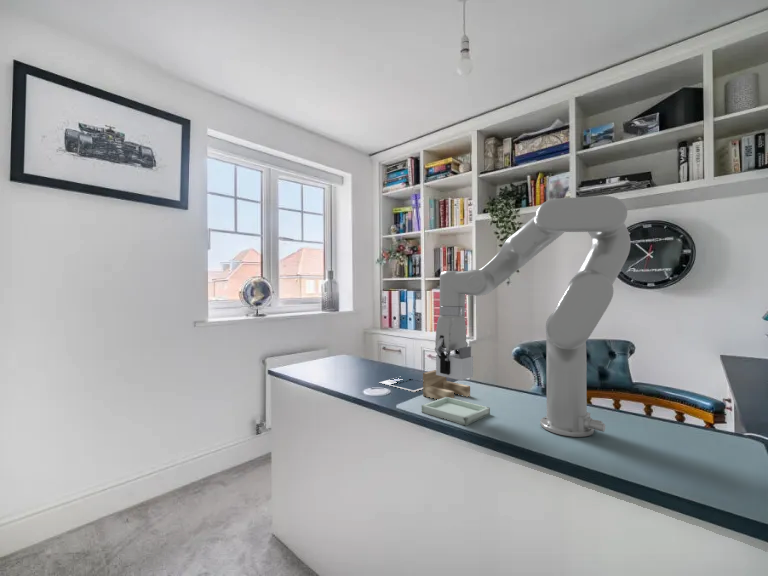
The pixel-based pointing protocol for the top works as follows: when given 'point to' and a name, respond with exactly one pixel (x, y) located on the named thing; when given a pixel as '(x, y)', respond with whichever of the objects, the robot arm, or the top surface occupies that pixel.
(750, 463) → the top surface
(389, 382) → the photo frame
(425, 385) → the dock
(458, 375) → the white box
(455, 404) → the tray
